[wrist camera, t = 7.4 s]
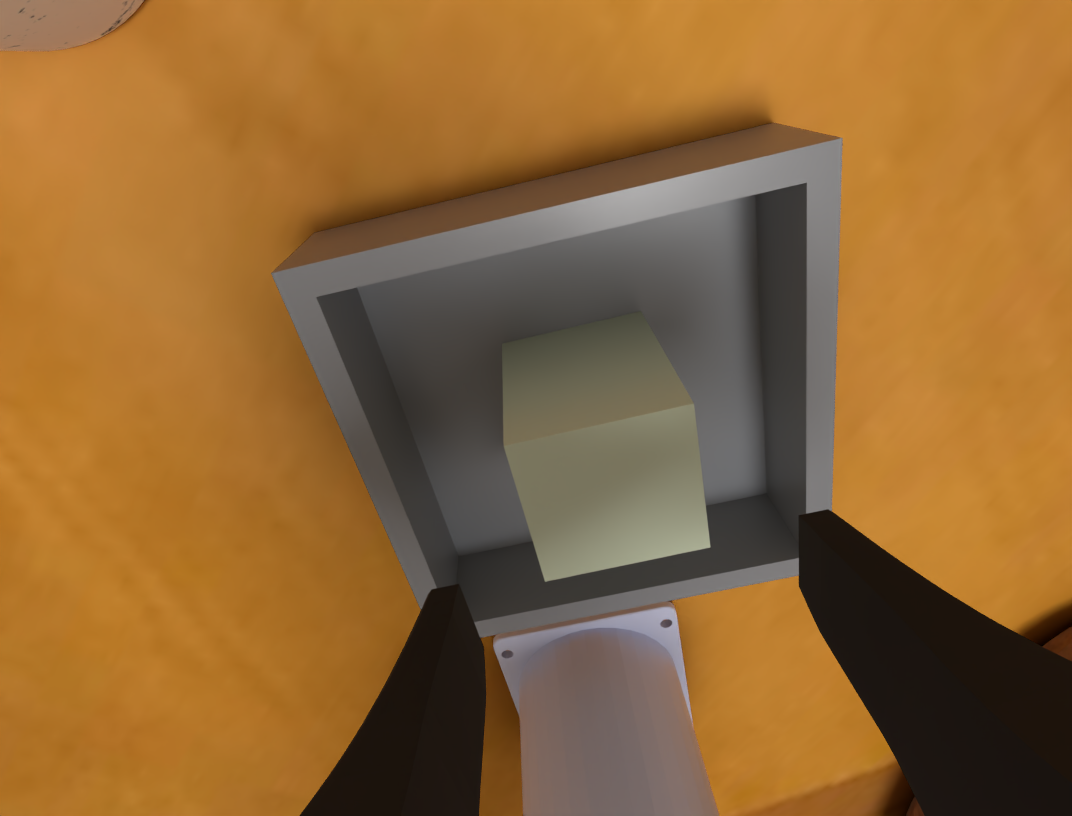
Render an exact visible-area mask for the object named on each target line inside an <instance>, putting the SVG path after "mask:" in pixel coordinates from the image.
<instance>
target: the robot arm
mask: <svg viewBox="0 0 1072 816" xmlns="http://www.w3.org/2000/svg"><path fill="white" fill-rule="evenodd" d="M798 520H799V587H800V589H801V592H802V594H803V596H804V598H805V601H806V603H807V605H808V607H809V609H810V612H811V614H812V616H813V618H814V620H815V622H816V624H817V626H818V629H819V631H820V633H821V634H822V636H823V638H824V639H825V641H826V643H827V644H828V646H829V648H830V649H831V651H832V653H833V654H834V656H835V658H836V659H837V661H838V663H839V664H840V666H841V667H842V669H843V671H844V672H845V674H846V676H847V677H848V679H849V680H850V682H851V684H852V685H853V687H854V689H855V690H856V692H857V693H858V695H859V697H860V698H861V700H862V702H863V703H864V705H865V707H866V708H867V710H868V711H869V713H870V715H871V716H872V718H873V720H874V721H875V723H876V724H877V726H878V728H879V729H880V731H881V733H882V734H883V736H884V738H885V740H886V741H887V743H888V745H889V747H890V748H891V750H892V752H893V754H894V756H895V757H896V759H897V761H898V763H899V765H900V767H901V769H902V771H903V773H904V775H905V777H906V779H907V781H908V783H909V785H910V787H911V789H912V792H913V794H914V796H915V798H916V800H917V802H918V804H919V806H920V808H921V810H922V812H923V814H924V816H1072V661H1070V660H1068V659H1066V658H1064V657H1062V656H1060V655H1058V654H1056V653H1054V652H1052V651H1050V650H1048V649H1046V648H1044V647H1042V646H1040V645H1038V644H1036V643H1034V642H1032V641H1031V640H1029V639H1027V638H1025V637H1023V636H1021V635H1019V634H1017V633H1016V632H1014V631H1012V630H1010V629H1008V628H1006V627H1004V626H1002V625H1001V624H999V623H997V622H995V621H993V620H992V619H990V618H988V617H986V616H985V615H983V614H981V613H980V612H978V611H976V610H975V609H973V608H971V607H970V606H968V605H967V604H965V603H963V602H962V601H960V600H958V599H957V598H955V597H954V596H952V595H950V594H949V593H947V592H946V591H944V590H943V589H941V588H939V587H938V586H936V585H935V584H933V583H932V582H930V581H929V580H927V579H926V578H924V577H923V576H921V575H920V574H918V573H917V572H915V571H914V570H912V569H911V568H910V567H908V566H907V565H905V564H904V563H902V562H901V561H899V560H898V559H896V558H895V557H894V556H892V555H891V554H889V553H888V552H887V551H885V550H884V549H882V548H881V547H880V546H878V545H877V544H875V543H874V542H873V541H871V540H870V539H869V538H867V537H866V536H864V535H863V534H862V533H860V532H859V531H858V530H856V529H855V528H854V527H852V526H851V525H850V524H848V523H847V522H846V521H844V520H843V519H841V518H840V517H839V516H837V515H836V514H835V513H833V512H832V511H830V510H829V509H827V510H822V511H817V512H812V513H807V514H802V515H798ZM665 619H667V620H665ZM663 620H664V621H663ZM493 648H494V651H495V653H496V656H497V659H498V661H499V664H500V667H501V669H502V672H503V675H504V677H505V680H506V683H507V685H508V688H509V690H510V693H511V696H512V698H513V701H514V704H515V706H516V709H517V712H518V714H519V717H520V739H521V768H522V798H523V816H719V813H718V810H717V806H716V803H715V799H714V796H713V793H712V789H711V786H710V782H709V779H708V776H707V772H706V769H705V765H704V762H703V759H702V755H701V752H700V748H699V745H698V742H697V738H696V735H695V731H694V728H693V721H692V715H691V708H690V701H689V694H688V688H687V681H686V674H685V667H684V661H683V654H682V647H681V641H680V634H679V627H678V620H677V614H676V610H675V607H674V605H673V604H672V603H671V602H668V601H666V602H660V603H655V604H650V605H645V606H640V607H635V608H630V609H625V610H620V611H614V612H609V613H604V614H599V615H594V616H589V617H584V618H579V619H574V620H569V621H563V622H558V623H553V624H548V625H543V626H538V627H533V628H528V629H523V630H518V631H512V632H507V633H502V634H497V635H496V636H495V637H494V639H493ZM506 650H510V651H506ZM485 708H486V679H485V659H484V647H483V644H482V641H481V639H480V636H479V634H478V631H477V629H476V626H475V623H474V621H473V618H472V616H471V613H470V610H469V608H468V605H467V603H466V600H465V598H464V595H463V592H462V590H461V587H460V585H459V584H455V585H450V586H445V587H440V588H436V589H431V591H430V592H429V593H428V595H427V598H426V600H425V602H424V605H423V607H422V609H421V611H420V614H419V616H418V618H417V620H416V622H415V625H414V627H413V629H412V631H411V633H410V635H409V638H408V640H407V642H406V644H405V646H404V648H403V650H402V652H401V654H400V656H399V658H398V660H397V662H396V664H395V666H394V668H393V670H392V672H391V674H390V676H389V678H388V680H387V681H386V683H385V685H384V687H383V689H382V691H381V692H380V694H379V696H378V698H377V699H376V701H375V703H374V705H373V706H372V708H371V710H370V712H369V713H368V715H367V717H366V719H365V721H364V722H363V724H362V726H361V727H360V729H359V730H358V732H357V734H356V735H355V737H354V739H353V740H352V742H351V743H350V745H349V746H348V748H347V750H346V751H345V753H344V754H343V756H342V757H341V759H340V760H339V762H338V763H337V765H336V766H335V768H334V769H333V770H332V772H331V773H330V775H329V776H328V778H327V779H326V780H325V782H324V783H323V784H322V786H321V787H320V789H319V790H318V791H317V793H316V794H315V796H314V797H313V798H312V800H311V801H310V802H309V804H308V805H307V807H306V808H305V809H304V810H303V812H302V813H301V814H300V816H479V800H480V785H481V770H482V755H483V740H484V724H485Z"/></svg>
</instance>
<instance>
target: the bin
mask: <svg viewBox="0 0 1072 816" xmlns="http://www.w3.org/2000/svg"><path fill="white" fill-rule="evenodd" d="M841 171H842V138H840V137H836V136H831V135H827V134H822V133H818V132H813V131H809V130H804V129H800V128H795V127H791V126H786V125H782V124H777V123H770V124H766V125H762V126H758V127H753V128H749V129H745V130H741V131H737V132H733V133H728V134H724V135H720V136H716V137H712V138H708V139H703V140H699V141H695V142H691V143H687V144H683V145H678V146H674V147H670V148H666V149H662V150H658V151H653V152H649V153H645V154H641V155H637V156H632V157H628V158H624V159H620V160H616V161H612V162H607V163H603V164H599V165H595V166H591V167H587V168H582V169H578V170H574V171H570V172H566V173H562V174H557V175H553V176H549V177H545V178H541V179H537V180H532V181H528V182H524V183H520V184H516V185H512V186H507V187H503V188H499V189H495V190H491V191H486V192H482V193H478V194H474V195H470V196H466V197H461V198H457V199H453V200H449V201H445V202H441V203H436V204H432V205H428V206H424V207H420V208H416V209H411V210H407V211H403V212H399V213H395V214H391V215H386V216H382V217H378V218H374V219H370V220H366V221H361V222H357V223H353V224H349V225H345V226H340V227H336V228H332V229H328V230H324V231H320V232H315V233H314V234H313V235H312V236H310V237H309V238H308V239H307V240H306V241H305V242H304V243H303V244H302V245H301V246H300V247H299V248H298V249H297V250H295V251H294V252H293V253H292V254H291V255H290V256H289V257H288V258H287V259H286V260H285V261H284V262H283V263H282V264H280V265H279V266H278V267H277V268H276V269H275V270H274V271H273V272H272V273H271V274H272V276H273V279H274V281H275V283H276V285H277V288H278V290H279V292H280V294H281V297H282V299H283V301H284V303H285V306H286V308H287V310H288V312H289V315H290V317H291V319H292V321H293V324H294V326H295V328H296V330H297V333H298V335H299V337H300V339H301V341H302V344H303V346H304V348H305V350H306V353H307V355H308V357H309V359H310V362H311V364H312V366H313V368H314V371H315V373H316V375H317V377H318V380H319V382H320V384H321V386H322V389H323V391H324V393H325V395H326V398H327V400H328V402H329V404H330V407H331V409H332V411H333V413H334V416H335V418H336V420H337V422H338V425H339V427H340V429H341V431H342V434H343V436H344V438H345V440H346V443H347V445H348V447H349V449H350V452H351V454H352V456H353V458H354V461H355V463H356V465H357V467H358V470H359V472H360V474H361V476H362V479H363V481H364V483H365V485H366V488H367V490H368V492H369V494H370V497H371V499H372V501H373V503H374V506H375V508H376V510H377V512H378V515H379V517H380V519H381V521H382V524H383V526H384V528H385V530H386V533H387V535H388V537H389V539H390V541H391V544H392V546H393V548H394V550H395V553H396V555H397V557H398V559H399V562H400V564H401V566H402V568H403V571H404V573H405V575H406V577H407V580H408V582H409V584H410V586H411V589H412V591H413V593H414V595H415V598H416V600H417V602H418V604H419V607H420V609H422V607H423V605H424V602H425V600H426V598H427V595H428V593H429V592H430V591H431V589H436V588H440V587H445V586H450V585H455V584H459V585H460V587H461V590H462V592H463V595H464V598H465V600H466V603H467V605H468V608H469V610H470V613H471V616H472V618H473V621H474V623H475V626H476V629H477V631H478V634H479V636H480V638H482V637H487V636H492V635H497V634H502V633H507V632H512V631H518V630H523V629H528V628H533V627H538V626H543V625H548V624H553V623H558V622H563V621H569V620H574V619H579V618H584V617H589V616H594V615H599V614H604V613H609V612H614V611H620V610H625V609H630V608H635V607H640V606H645V605H650V604H655V603H660V602H666V601H671V600H676V599H681V598H686V597H691V596H696V595H701V594H706V593H711V592H717V591H722V590H727V589H732V588H737V587H742V586H747V585H752V584H757V583H762V582H768V581H773V580H778V579H783V578H788V577H793V576H798V575H799V520H798V515H802V514H807V513H812V512H817V511H822V510H827V509H829V510H830V511H832V483H833V449H834V414H835V379H836V344H837V310H838V275H839V240H840V205H841ZM640 311H641V312H642V314H643V316H644V317H645V319H646V321H647V323H648V324H649V326H650V328H651V330H652V331H653V333H654V335H655V337H656V338H657V340H658V342H659V344H660V345H661V347H662V349H663V350H664V352H665V354H666V356H667V357H668V359H669V361H670V363H671V364H672V366H673V368H674V370H675V371H676V373H677V375H678V377H679V378H680V380H681V382H682V384H683V385H684V387H685V389H686V391H687V392H688V394H689V396H690V398H691V399H692V401H693V403H694V408H695V417H696V426H697V434H698V443H699V452H700V460H701V469H702V478H703V487H704V495H705V504H706V513H707V521H708V530H709V539H710V548H705V549H700V550H695V551H691V552H686V553H681V554H676V555H671V556H667V557H662V558H657V559H652V560H647V561H643V562H638V563H633V564H628V565H623V566H618V567H614V568H609V569H604V570H599V571H594V572H590V573H585V574H580V575H575V576H570V577H566V578H561V579H556V580H551V581H546V582H545V580H544V577H543V573H542V570H541V567H540V564H539V560H538V557H537V554H536V551H535V547H534V544H533V541H532V537H531V534H530V531H529V528H528V524H527V521H526V518H525V515H524V511H523V508H522V505H521V501H520V498H519V495H518V492H517V488H516V485H515V482H514V479H513V475H512V472H511V469H510V465H509V462H508V459H507V456H506V452H505V449H504V442H503V377H502V344H503V343H507V342H511V341H516V340H520V339H524V338H528V337H533V336H537V335H541V334H546V333H550V332H554V331H558V330H563V329H567V328H571V327H575V326H580V325H584V324H588V323H593V322H597V321H601V320H605V319H610V318H614V317H618V316H622V315H627V314H631V313H635V312H640Z"/></svg>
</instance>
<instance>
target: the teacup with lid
mask: <svg viewBox="0 0 1072 816" xmlns="http://www.w3.org/2000/svg"><path fill="white" fill-rule="evenodd" d="M143 1H144V0H0V51H53V50H61V49H67V48H71V47H75V46H79V45H83V44H86V43H89V42H91V41H94V40H96V39H99V38H101V37H103V36H104V35H106V34H108V33H110V32H112V31H113V30H114V29H116V28H117V27H118V26H120V25H121V24H122V23H124V22H125V21H126V20H127V19H128V18H129V17H130V16H131V15H132V14H133V13H134V12H135V11H136V10H137V9H138V8H139V7H140V5H141V4H142V3H143Z"/></svg>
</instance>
